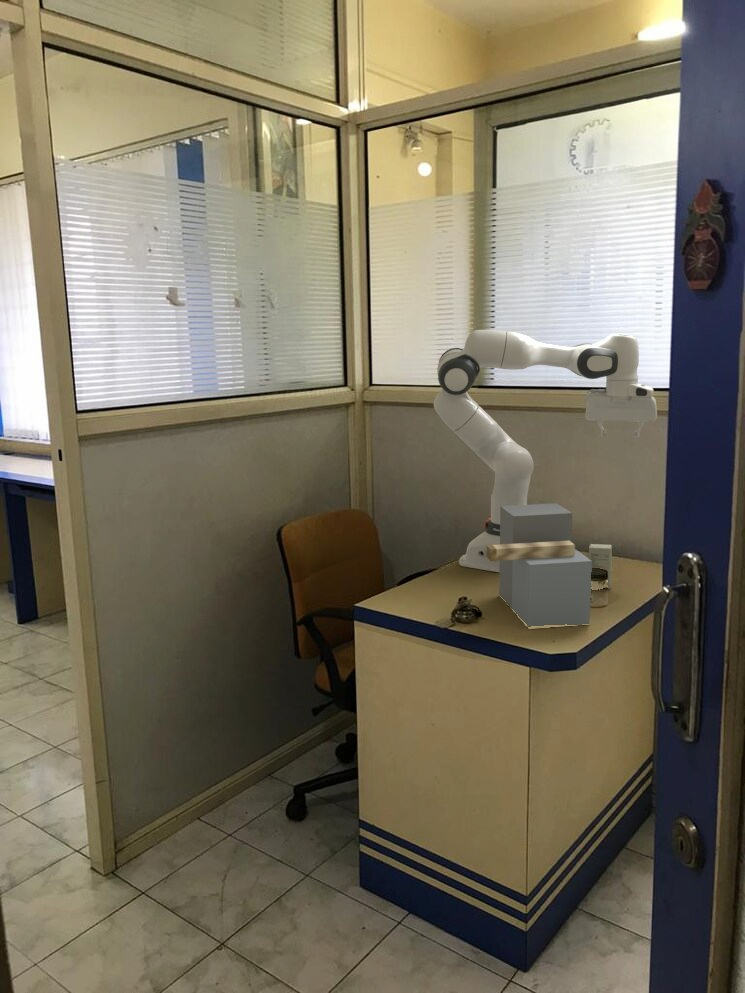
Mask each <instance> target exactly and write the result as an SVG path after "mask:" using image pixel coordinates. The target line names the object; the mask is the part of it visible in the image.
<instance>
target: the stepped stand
mask: <svg viewBox="0 0 745 993" xmlns="http://www.w3.org/2000/svg"><path fill="white" fill-rule="evenodd" d="M572 527H573V513H572V512H571V511H570V510H569V509H567V508H565V507H563V506H561V505H560V504H558V503H557V502H555V503H536V504H535V503H534V504H533V503H532V504H527V505H512V506H500V544H518V543H535V542H553V541H570V542H572V538H573V537H572V536H573V535H572V534H573V531H572V530H573V528H572ZM591 572H592V561H591V560H590V559H589V557H587V556H586V555H584V554H583V553H582V552H580V551H579V550H577V549H576V548H575V556H566V557H550V558H533V559H516V560H500V569H499V572H498V573H499V577H498V578H499V582H498V583H499V584H498V587H499V588H498V592H499V593H498V596H499V595H500V596H501V597H502V598H503V599H504V600H505V601H506V603H507V604H508V605H509V606H510V607H511V608H512V609H513V610H514V611H515V612H516V614H518V616H519V617H520V618H521V619H522V620H523V621H524V622H525V623H526V624H527V626H528V627H531V626H544V625H565V624H567V625H582V624H590V620H591V619H590V618H591V598H592V595H591V592H592V588H591ZM500 596H499V597H500ZM506 603H505V604H506ZM507 604H506V605H507ZM590 625H591V624H590Z"/></svg>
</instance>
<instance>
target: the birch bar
mask: <svg viewBox="0 0 745 993" xmlns="http://www.w3.org/2000/svg"><path fill="white" fill-rule="evenodd" d="M575 549H576V545H575V543H573V542H572V541H571V542H570V541H553V542H535V543H518V544H500V545H486V557H487V558H488V559H489V560H490V561H500V560H516V559H533V558H550V557H566V556H575Z"/></svg>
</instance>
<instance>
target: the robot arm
mask: <svg viewBox="0 0 745 993" xmlns="http://www.w3.org/2000/svg"><path fill="white" fill-rule="evenodd" d="M639 352H640V351H639V343H638V339H637V338H636V337H635V336H634V335H631V334H627V333H621V332H613V333H610V335H608V336H607V337H606V338H604V339H602V340H600V341H597V342H595V343H589V342H584V343H580V344H577V345H573V346H563V345H555V344H550V343H549V344H548V343H543V342H540V341H537V340H536V339H534V338H532V337H530V336H528V335H526V334H523V333H520V332H515V331H511V330H504V329H503V330H502V329H476V330H473V331H472V332H470V333H469V335H468V336H467V338H466V340H465V343H464V348H460V347H452V348H450V349H448V350H446V351H445V352H443V353H442V354H441V355H440V357H439V361H438V365H437V370H436V371H437V380H438V383H439V385H440V386H439V387H441V389H440V391H439V392H437V394H436V396H435V398H434V400H433V408H434V410H435V413H437V415H438V416H439V418H440V419H441V420H442V421H443V423H444V424H445V425H446V426H447V427H448V428H449V429H450V430H451V431H452V432H453V433H454V434H455V435H456V436H457V437H458V438H459V439H460V440H461V441H463V443H465V444H466V445H467V446H468V447H469V448H470V449H471V451H473V452H474V453H475V454H476V455H477V457H479V458H480V459H481V460H482V461H483V462H484V463H485V464H486V465H487V466H488V467H489V468H490V469H491V470H492V471H493V472H494V483H493V488H492V493H491V495H490V517H488V519H486V520H485V522H484V524H483V529H484V531H483V532H482V533H480V534H479V535H478V536H476V537H475V538H474V539H472V540H471V541H469V544H468V545H467V548H466V553H465V554H463V555H462V556H460V557H459V560H458V564H459V565H460V567H465V568H471V569H475V570H476V569H477V570H484V571H488V572H496V573H499V569H500V561H490V560H489V559H488V558H487V557H486V545H500V506H512V505H528V495H529V494H528V493H529V488H530V482H531V479H532V474H533V472H534V468H535V467H534V464H535V463H534V460H533V458H532V455H531V453H530V452H529V451H528V449H526V448H525V447H522V446H521V445H520V444H518V443H517V442H516V441H515V440H514V439H513V438H512V437H510V436H509V435H508V434H507V433H506V431H505V430H503V428H502V427H501V426H500V425H499V424H498V422H497V421H496V420H494V418H493V417H491V415H490V414H489V413H487V411H485V410H484V409H483V407H482V406H480V405H479V404H478V403H477V402H476V401H475V400H474V399H473V398H472V397H471V396H470V395H469V393H468V391H470V389H471V388H472V386H473V385H474V383H475V382H476V379H477V377H478V375H479V373H480V372H481V369H482V368H495V369H501V370H517V371H518V370H524V369H527V368H529V367H532V366H549V367H554V368H555V367H557V368H562V369H563V368H564V369H567V370H569V371H570V372H572V373H573V374H575V375H577V376H580V377H583V378H585V379H588V380H597V379H600V378H605V377H606V379H605V380H606V383H605V388H602V389H601V388H599V389H594V388H591V389H589V390H588V391H587V392H586V393H585V395H584V396H585V397H584V401H585V403H586V407H585V415H584V416H585V419H586V420H587V421H588V422H589V421H591V422H592V421H594V422H595V421H597V427H598V429H600V437H607V434H608V433H607V431H608V430H607V429H605V428H604V426H603V424H604V422H631V423H632V422H637V423H638V424H637V425H638V426H639V427H638V428H637V429H635V430H634V431H633V437H634V438H640V435H641V434H640V433H641V431H642V428H643V427H644V425H645V423H654V422H655V421H656V420H657V419H658V406H657V401H656V398H655V397H654V396H653V394H654V391H655V390H654V388H653V387H651V386H648V385H646V384H645V385H644V384H641V383H639V376H638V367H639V361H640V360H639V359H640V356H639V355H640V354H639Z"/></svg>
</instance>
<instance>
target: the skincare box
mask: <svg viewBox="0 0 745 993" xmlns="http://www.w3.org/2000/svg"><path fill="white" fill-rule="evenodd" d="M588 546H589V547H588V559H590V560H591V561H592V568H600V569H605V570H607V571H608V583H607V585H608V589H609V590H610V589H611V587H612V565H613V564H612V559H613V558H612V557H613V556H612V555H613V552H612V550H613V549H612V548H613V547H612V544H605V543H604V544H603V543H602V544H598V543H590V544H589V545H588ZM608 589H607V590H608Z"/></svg>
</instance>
